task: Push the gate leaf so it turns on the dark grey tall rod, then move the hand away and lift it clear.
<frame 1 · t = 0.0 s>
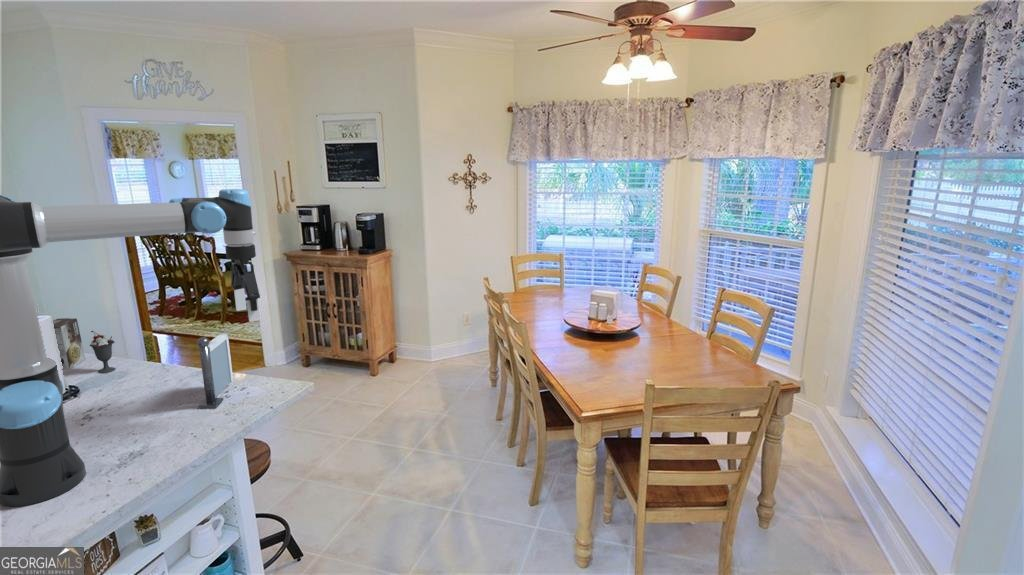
hand: (247, 315, 151), 28 cm above the kitchen island, tool pointing down, fingers open, 13 cm apart
coffee box: (68, 365, 182), on the kitchen island
gate leaf: (218, 364, 161), point 10 cm above the kitchen island, hinge at 0.0°
sundae: (106, 371, 178), on the kitchen island
dark grey tall rod: (211, 404, 156), on the kitchen island
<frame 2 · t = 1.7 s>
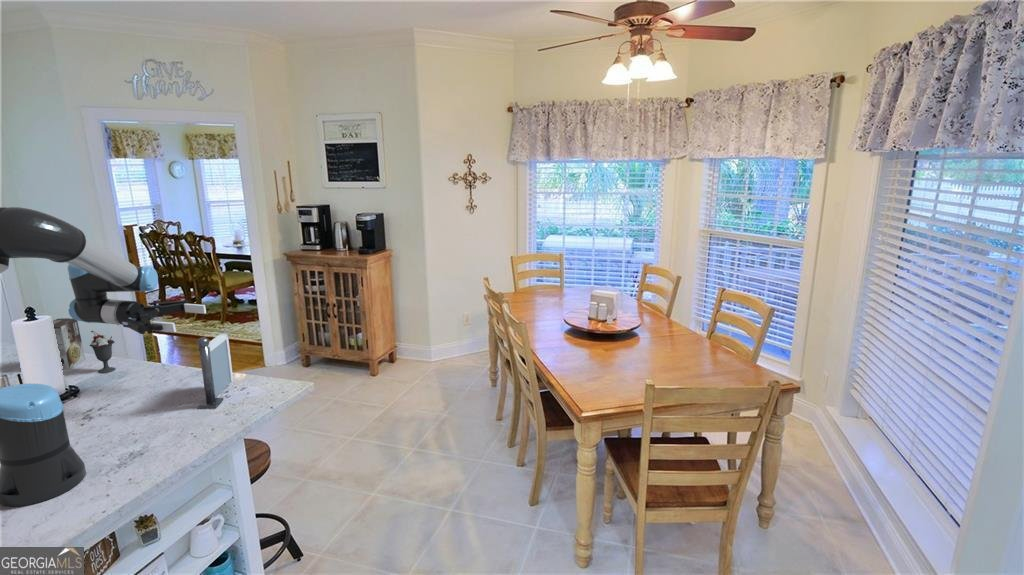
hand: (190, 318, 155), 26 cm above the kitchen island, tool horizontal, fingers open, 13 cm apart
nothing on the kitchen island moved.
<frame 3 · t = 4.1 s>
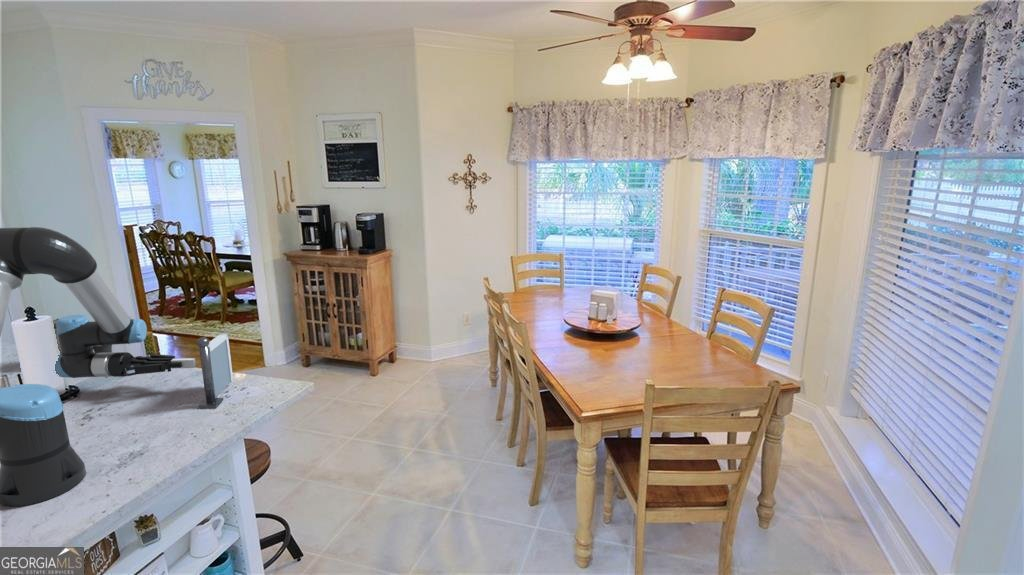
hand: (194, 363, 162), 10 cm above the kitchen island, tool horizontal, fingers closed
nothing on the kitchen island moved.
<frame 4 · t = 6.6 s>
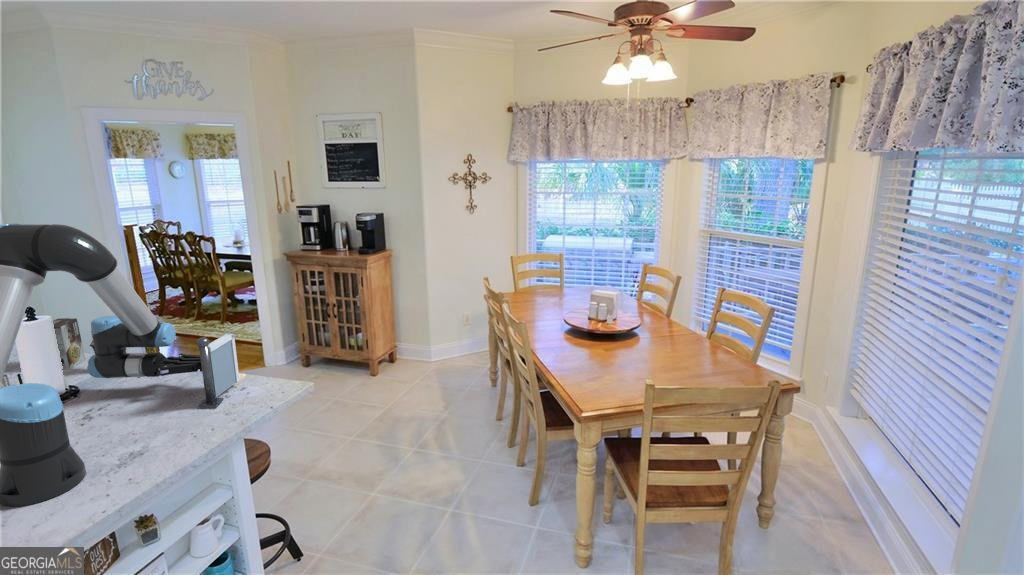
hand: (225, 363, 164), 9 cm above the kitchen island, tool horizontal, fingers closed
gate leaf: (222, 364, 161), point 10 cm above the kitchen island, hinge at 8.5°, touching gripper
everything else where it was.
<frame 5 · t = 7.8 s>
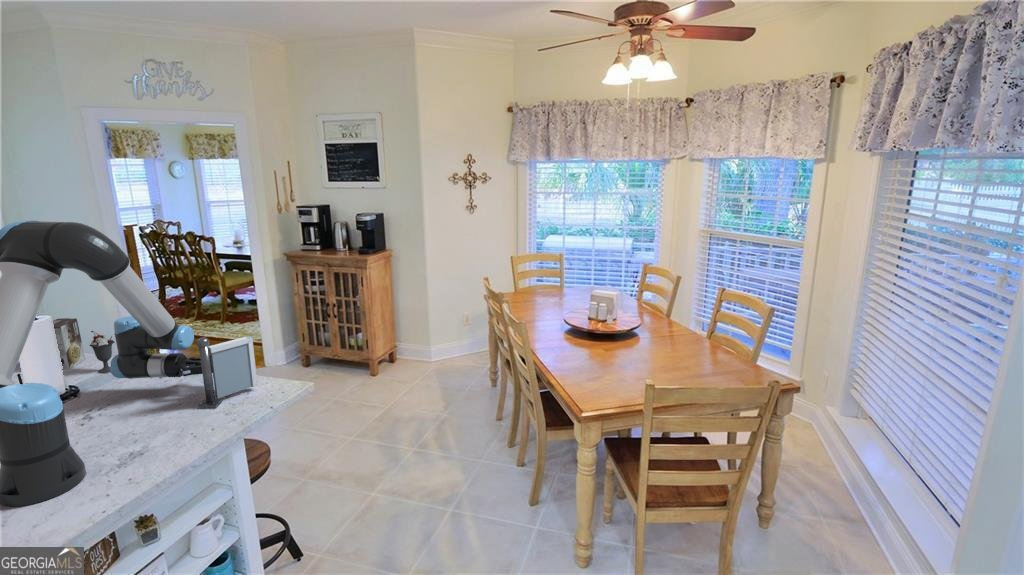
hand: (247, 363, 164), 9 cm above the kitchen island, tool horizontal, fingers closed
gate leaf: (233, 366, 160), point 10 cm above the kitchen island, hinge at 42.2°, touching gripper
everything else where it was.
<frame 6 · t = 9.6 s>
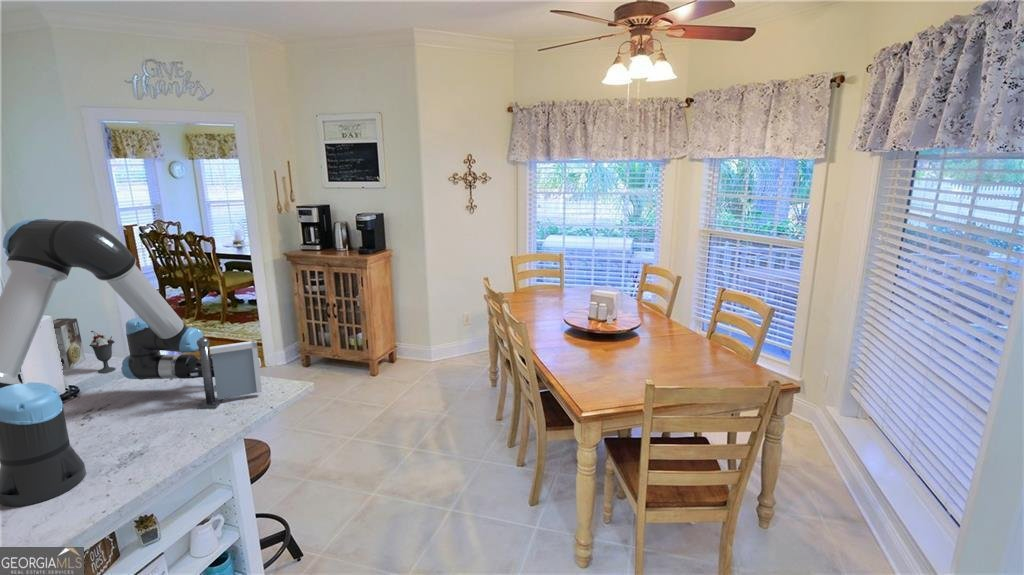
hand: (256, 365, 163), 9 cm above the kitchen island, tool horizontal, fingers open, 5 cm apart
gate leaf: (236, 370, 157), point 10 cm above the kitchen island, hinge at 66.6°, touching gripper
everything else where it was.
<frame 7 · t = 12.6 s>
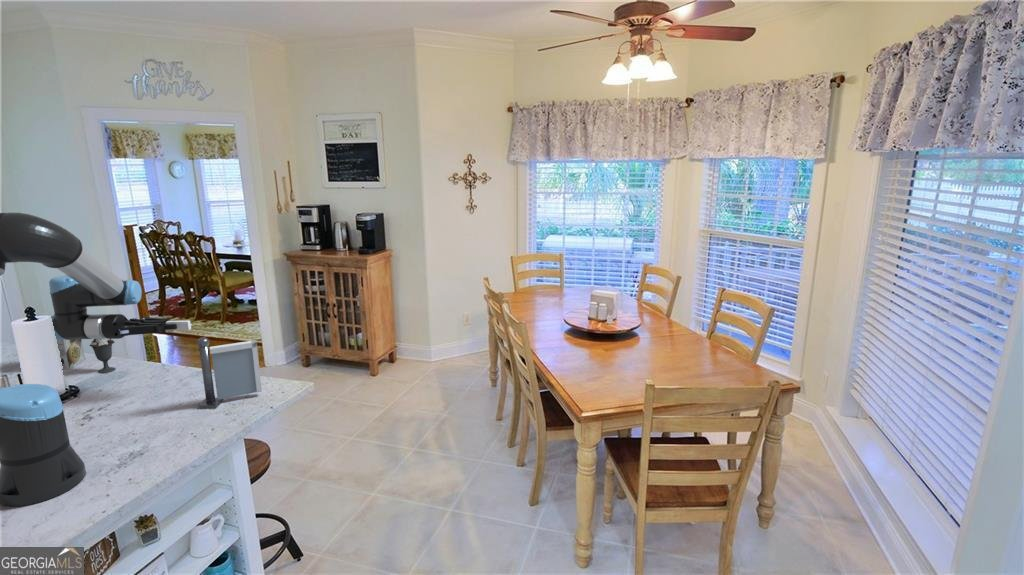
hand: (189, 325, 160), 22 cm above the kitchen island, tool horizontal, fingers closed
gate leaf: (236, 369, 157), point 10 cm above the kitchen island, hinge at 64.9°
everything else where it was.
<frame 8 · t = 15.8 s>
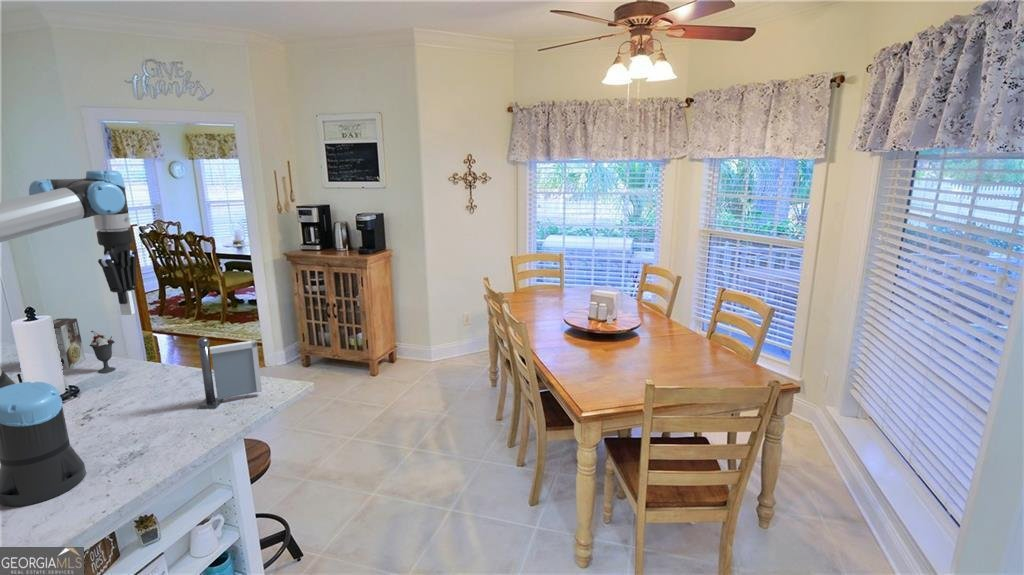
hand: (128, 313, 142), 30 cm above the kitchen island, tool pointing down, fingers closed
nothing on the kitchen island moved.
at the end: gate leaf at +65° (first picture: +0°); sundae moved 0.2 cm from its start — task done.
